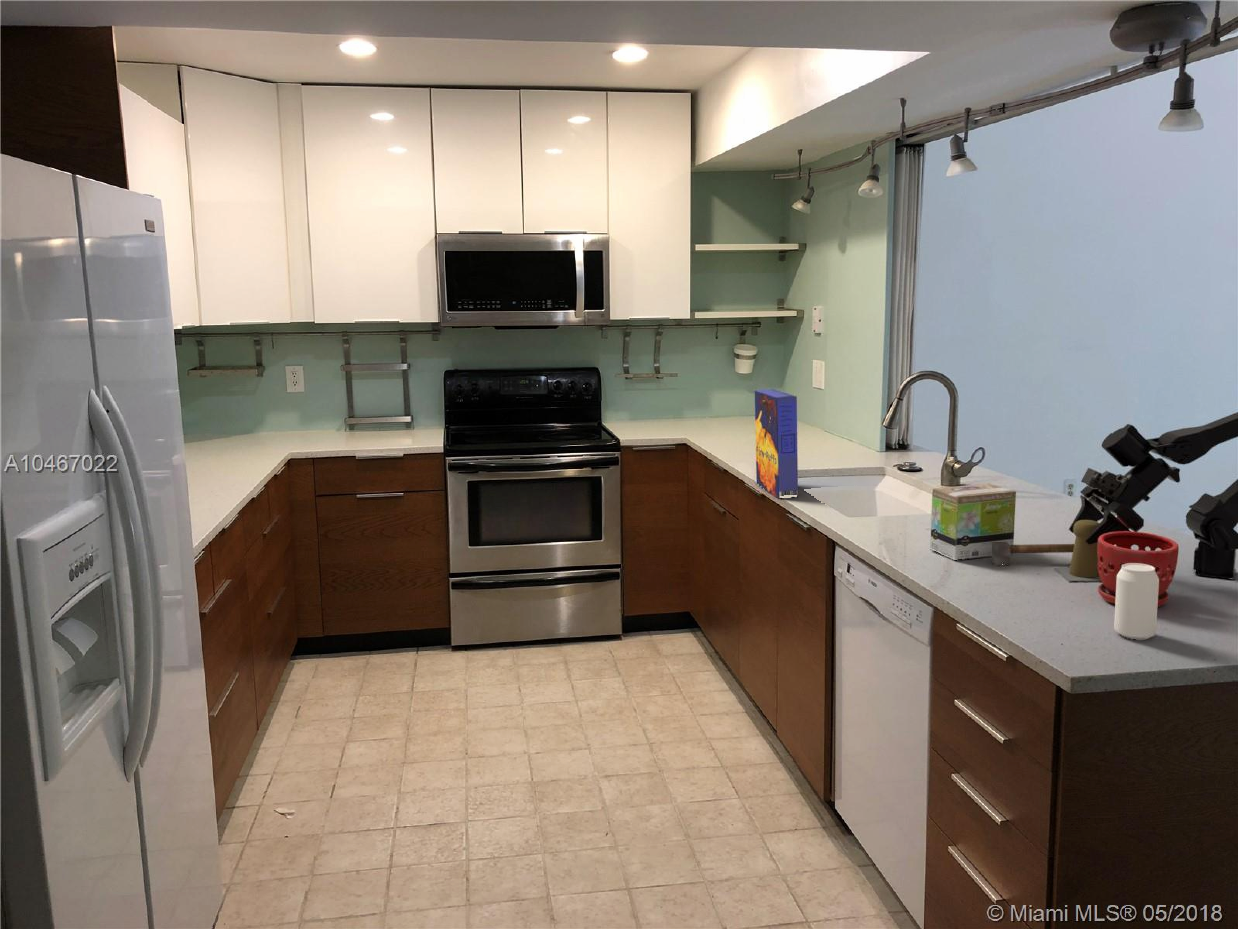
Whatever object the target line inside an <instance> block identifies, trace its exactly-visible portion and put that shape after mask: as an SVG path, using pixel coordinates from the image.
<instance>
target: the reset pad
mask: <svg viewBox="0 0 1238 929" xmlns="http://www.w3.org/2000/svg"><path fill="white" fill-rule="evenodd" d="M1054 569H1055V570H1056V571H1055V570H1054ZM1053 570H1054V571H1055V572H1057V573H1058V572H1059V573H1058V574H1059V575H1060V574H1061V575H1062V576H1063V577H1064V578H1063V577H1062V576H1061V575H1060V576H1061V577H1062V578H1063V579H1065V578H1066V579H1067V580H1068V581H1070V582H1069V583H1072V582H1071V581H1078V582H1077V583H1103V582H1102V580H1101V578H1100V577H1096V578H1085V577H1078V576H1074V575H1072V574H1070V573H1069V570H1070V566H1069V567H1064V566H1063V567H1053ZM1066 579H1065V580H1066ZM1067 580H1066V581H1067ZM1068 581H1067V582H1068ZM1082 581H1083V582H1082Z"/></svg>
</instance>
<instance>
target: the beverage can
mask: <svg viewBox="0 0 1238 929" xmlns="http://www.w3.org/2000/svg"><path fill="white" fill-rule="evenodd" d="M1158 589H1159V578H1158V576H1157V574H1156V572H1155V568H1154V567H1153V566H1150V565H1147V564H1141V563H1127V564H1123V565H1122V568H1121V570H1120V571H1119V573H1118V574H1117V580H1116V600H1115V604H1114V626H1113V628H1114V631H1115V632H1116V633H1118V634H1119V635H1120V634H1121V635H1122V636H1121V635H1120V636H1121V637H1123V636H1124V637H1123V638H1125V637H1127V638H1126V639H1128V638H1131V639H1130V640H1133V639H1136V640H1135V641H1144V640H1148V639H1149V638H1152V637H1154V636H1156V632H1157V620H1158V607H1157V606H1158Z"/></svg>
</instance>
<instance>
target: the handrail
mask: <svg viewBox="0 0 1238 929" xmlns="http://www.w3.org/2000/svg"><path fill="white" fill-rule="evenodd" d="M1074 544H1075V543H1056V544H1055V543H1052V544H1051V543H1047V544H1046V543H1045V544H1043V543H1042V544H1040V543H1039V544H1013V545H1009V544H1008V543H1007V542H992V556H991V562H992V561H993V562H994V564H995V565H1002V564H1003V565H1005V566H1011V554H1010V553H1012V554H1045V553H1046V554H1052V553H1053V554H1054V553H1057V554H1058V553H1059V554H1060V553H1063V554H1064V553H1065V554H1066V553H1068V554H1069V553H1073V549H1074ZM1102 560H1103V559H1102ZM994 564H993V565H994ZM995 565H994V566H995Z"/></svg>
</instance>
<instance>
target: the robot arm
mask: <svg viewBox="0 0 1238 929" xmlns="http://www.w3.org/2000/svg"><path fill="white" fill-rule="evenodd" d="M1236 438H1238V411H1237V412H1235V413H1232V414H1229V415H1227V416H1224V417H1222V418H1219V419H1217V420H1214V421H1212V422H1211V421H1210V422H1209V423H1206V424H1203V425H1200V426H1195V427H1194V426H1193V427H1184V428H1178V429H1174V430H1170V431H1167V432H1164V433H1162V434H1161V435H1160V436H1159V437H1154V438H1148V439H1147V438H1146V437H1144V436H1143V435H1142V434H1141V433H1140V432H1139V431H1138V429H1137V428H1136V427H1135V426H1134V425H1133V424H1130V423H1127V424H1125V426H1123V427H1121V428H1119V429H1116V430H1114V431H1113V432H1110V433H1109V434H1108V435H1107V436H1106V437H1105V438H1104V440H1102V443H1101V447H1102V449H1103V450H1105V451H1106V453H1107V454H1108V455H1109V456H1111V457H1112V458H1113V460H1115V461H1116V462H1117V463H1118V465H1120V466H1121V467H1123V468H1126V467H1131V469H1129V471H1127V472H1126V473H1125V474H1124V475H1123V474H1121V473H1120V474H1115V473H1112V472H1111V471H1108V470H1105V471H1104V472H1099V471H1097V470H1095V469H1092V468H1091V467H1088V468H1087V470H1086V471H1085V473H1084V474H1083V477H1082V478H1081V480H1080V482H1081V483H1083V484H1085V485H1086V486H1085V487H1084V488H1083V489H1081V490H1080V492H1079V493H1080V496H1079V497H1080V502H1081V503H1080V504H1081V506H1080V508H1079V511H1078V513H1077V514H1076V516H1075V518H1074V519H1073V521H1072V523H1071V525H1070V526H1069V528H1068V531H1070V532H1071V533H1073V534H1074V532H1073V527H1074V524H1075V523H1076V522H1077V521H1079V520H1092V521H1096V522H1099V521H1100V522H1099V523H1100V524H1099V525H1098V526H1097V527H1096V528H1095V529H1094V530H1093V532H1092V533H1091V534H1090V535H1089V536H1088V538H1087V539H1086V540H1085V541H1086V542H1087V543H1088V544H1089V545H1090V544H1093V543H1096V542H1098V538H1099V537H1100V536H1101V535H1103V534H1105V533H1110V532H1118V531H1131V532H1140V530H1141V529H1143V527H1144V524H1145V520H1144V518H1143V517H1142V516H1141V515H1140V514H1139V513H1138V512H1137V511H1135V510H1134V508H1135V507H1136V506H1138V504H1140V503H1141V502H1142V501H1144V502H1146V503H1147V502H1148V501H1149V500H1150V499H1151V497H1150V496H1149V494H1150V495H1151V493H1152V492H1153V491H1154V490H1155V489H1157V488H1158V487H1159V486H1160V485H1161V484H1162V483H1163V482H1164V481H1166V479H1169V480H1170V481H1172V482H1175V483H1177V484H1178V483H1180V482H1181V476H1180V471H1181V469H1180V468H1179V467H1176V466H1171V465H1169V463H1168V462H1166V460H1168V461H1170V462H1173V463H1176V464H1178V465H1189V464H1190V463H1193V462H1195V461H1196V460H1199V459H1200V458H1202V457H1204V456H1205V455H1206V454H1208V453H1209V452H1210V451H1211V450H1212V449H1213V448H1214V447H1216V446H1217V445H1220V444H1223V443H1226V442H1228V441H1230V440H1233V439H1236ZM1151 453H1153V454H1156V455H1158V456H1160V457H1158V458H1156V457H1154V455H1152V454H1151ZM1164 459H1166V460H1164ZM1188 508H1190V509H1189V510H1188V512H1187V513H1186V514H1185V523H1186V527H1187V528H1188V529H1189V531H1191V532H1192V533H1193V536H1194V539H1196V540H1199V541H1198V544H1197V545H1198V546H1196V547H1195V549H1194V552H1193V566H1192V569H1193V571H1194V575H1195V576H1200V575H1201V577H1208V576H1209V577H1210V578H1217V577H1221V578H1220V579H1225V578H1234V579H1235V575H1236V572H1237V571H1236V570H1237V569H1236V556H1237V550H1238V532H1237V531H1236V530H1235V527H1236V526H1237V525H1238V478H1237V479H1236V480H1235V481H1233V483H1231V484H1230V485H1229V486H1228V487H1226V489H1225V490H1224V491H1222V492H1221V493H1219V494H1217V495H1214V496H1213V495H1211V494H1209V493H1206V492H1205V493H1203V494H1202V495H1201V496H1200V497H1199V499H1198V500H1197V501H1196V502H1194V503H1193V504H1191V505H1189V506H1188ZM1209 577H1208V578H1209Z"/></svg>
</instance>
